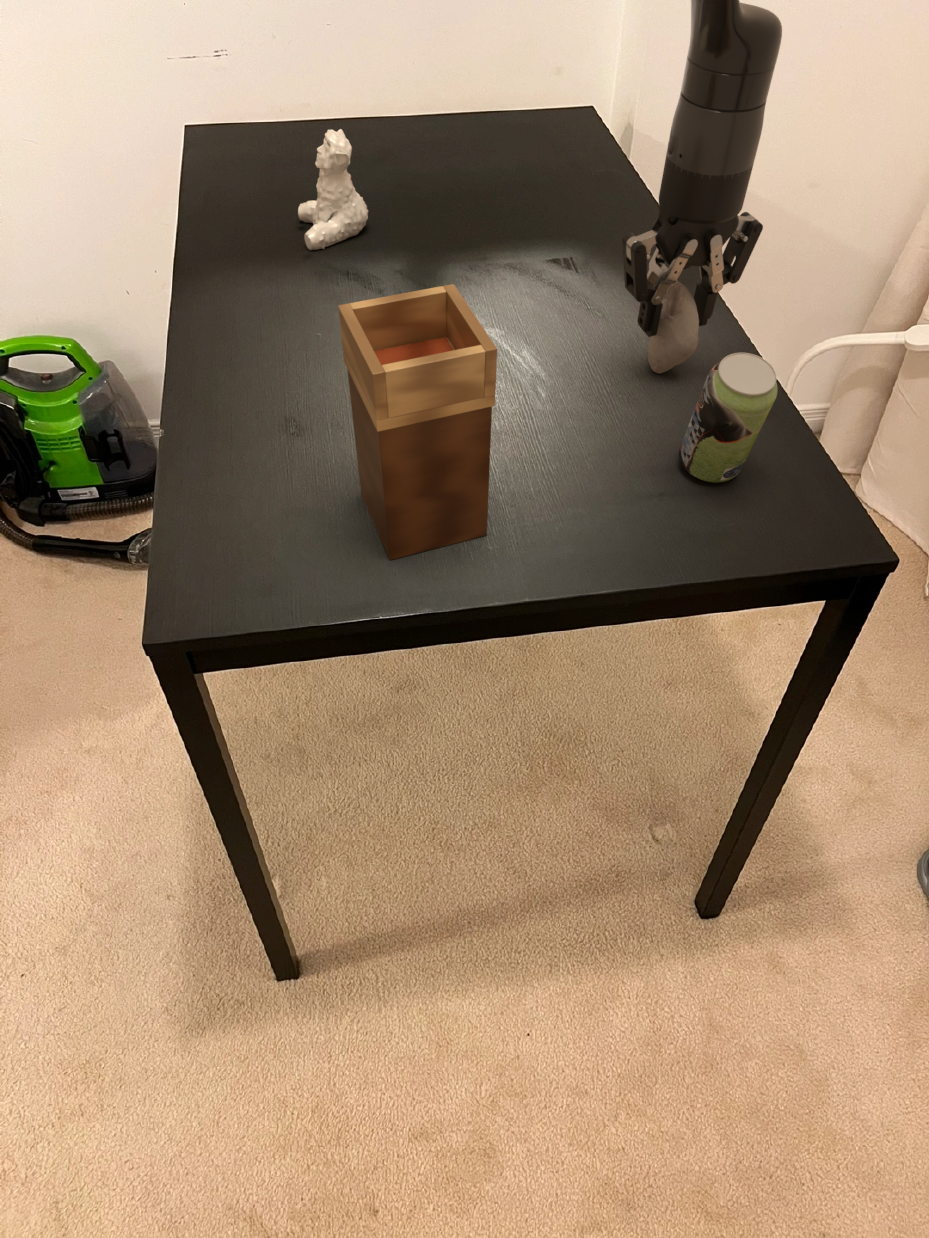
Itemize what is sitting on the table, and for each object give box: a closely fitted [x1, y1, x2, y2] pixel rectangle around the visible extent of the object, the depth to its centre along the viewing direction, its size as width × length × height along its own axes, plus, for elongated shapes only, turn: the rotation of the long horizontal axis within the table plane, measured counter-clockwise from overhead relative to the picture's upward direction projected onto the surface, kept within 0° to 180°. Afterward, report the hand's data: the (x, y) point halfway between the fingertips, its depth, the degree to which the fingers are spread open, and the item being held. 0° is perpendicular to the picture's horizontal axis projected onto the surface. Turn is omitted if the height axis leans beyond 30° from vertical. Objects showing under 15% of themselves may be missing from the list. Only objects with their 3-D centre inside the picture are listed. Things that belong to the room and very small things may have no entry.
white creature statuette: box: [297, 128, 369, 251], centre depth 107 cm, size 10×9×12 cm
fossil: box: [647, 280, 700, 374], centre depth 89 cm, size 6×4×10 cm, turn 26°
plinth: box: [346, 368, 493, 561], centre depth 74 cm, size 9×9×14 cm
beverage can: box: [678, 352, 778, 483], centre depth 78 cm, size 6×7×12 cm
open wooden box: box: [337, 283, 498, 432], centre depth 66 cm, size 9×9×5 cm
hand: (673, 326), depth 89 cm, fingers open, 5 cm apart
